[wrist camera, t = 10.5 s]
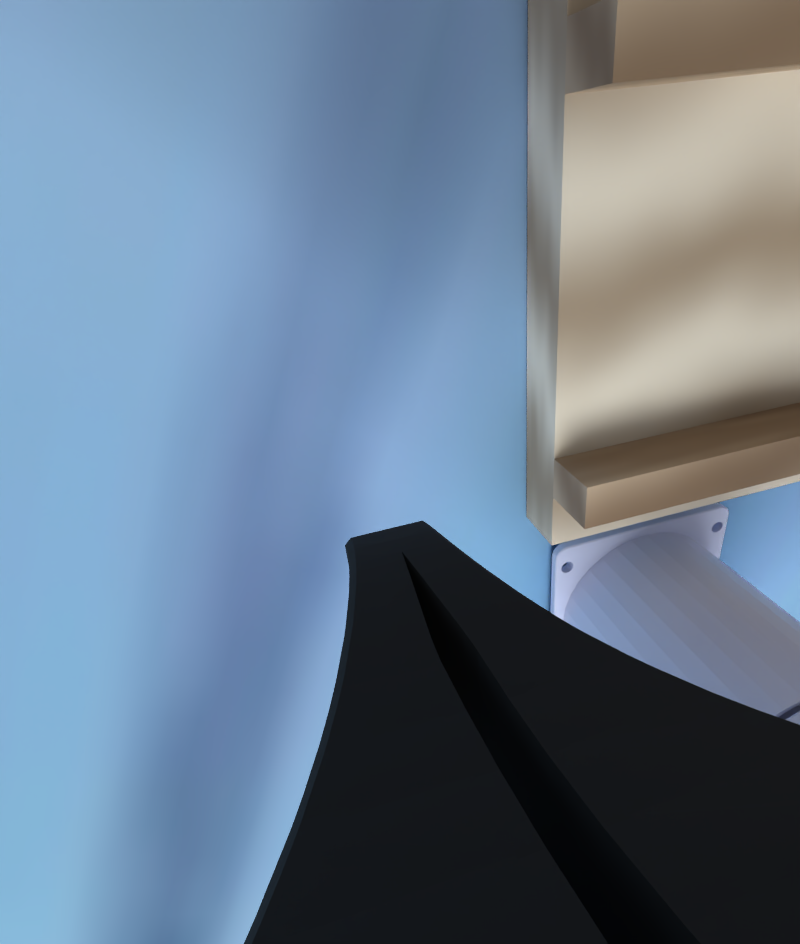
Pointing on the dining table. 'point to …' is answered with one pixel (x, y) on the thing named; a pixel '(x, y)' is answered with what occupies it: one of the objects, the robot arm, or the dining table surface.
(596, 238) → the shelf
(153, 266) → the dining table surface
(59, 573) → the dining table surface
